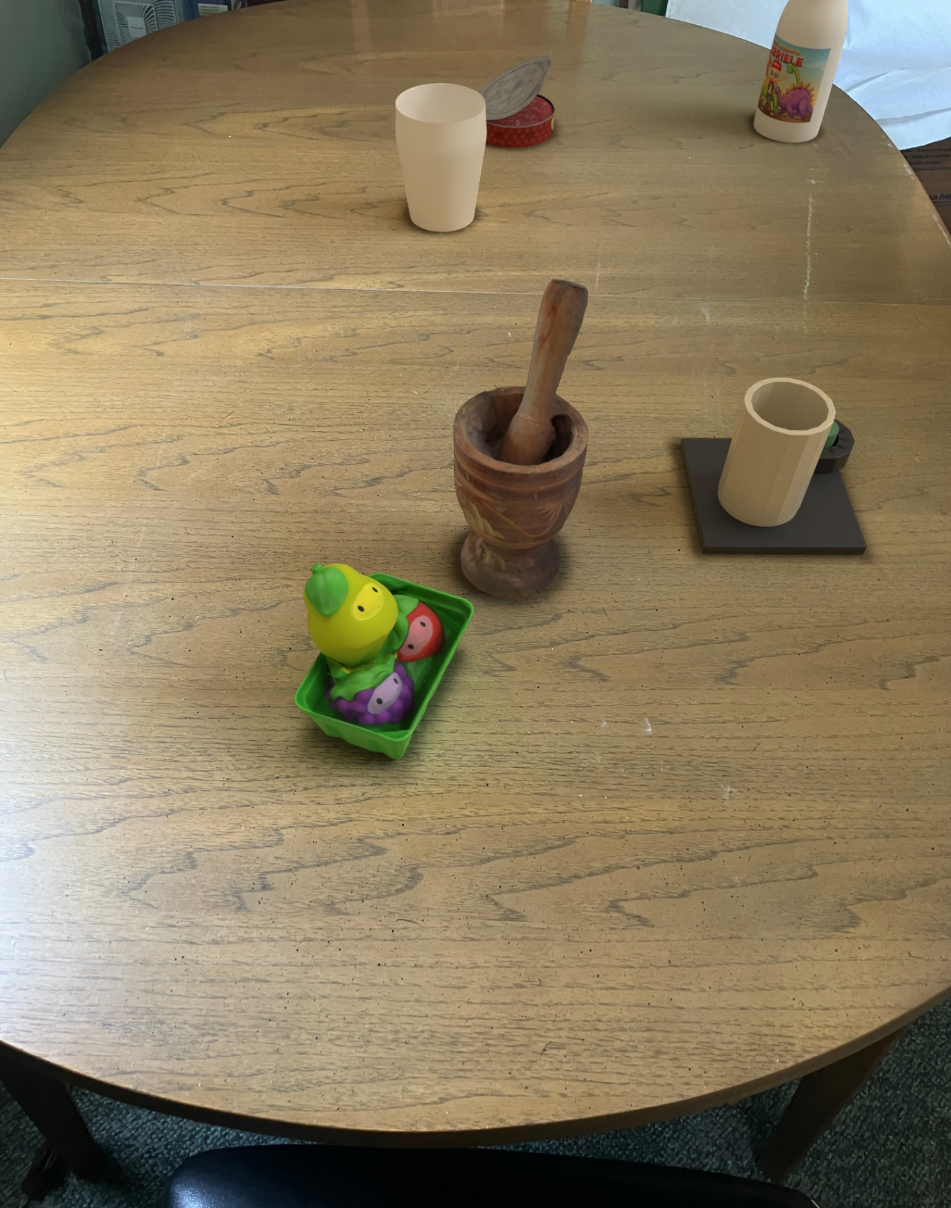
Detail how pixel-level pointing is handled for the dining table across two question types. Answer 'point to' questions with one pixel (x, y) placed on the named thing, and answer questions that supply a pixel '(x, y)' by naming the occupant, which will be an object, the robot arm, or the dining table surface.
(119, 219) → the dining table surface
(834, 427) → the button
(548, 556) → the mortar and pestle
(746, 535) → the scale
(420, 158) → the cup
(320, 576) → the fruit basket
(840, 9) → the milk bottle
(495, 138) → the canned food
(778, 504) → the tan hollow cylinder
